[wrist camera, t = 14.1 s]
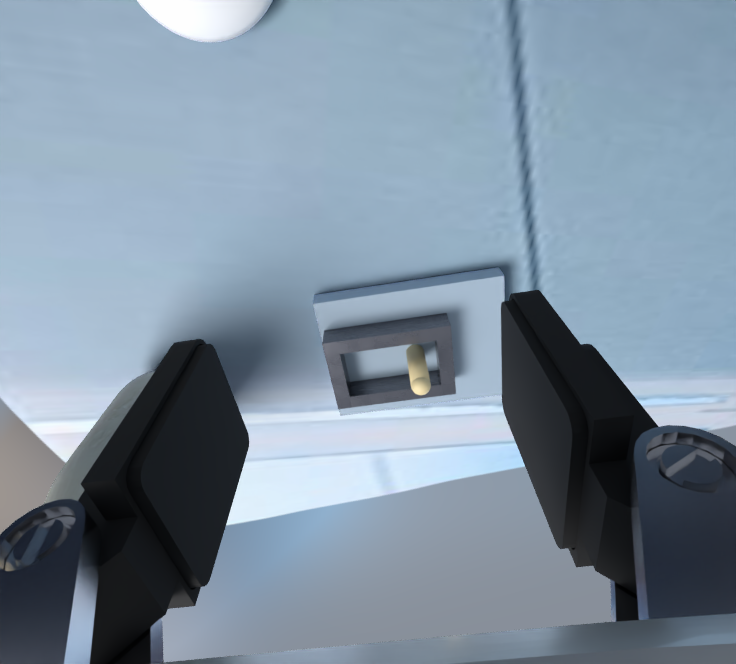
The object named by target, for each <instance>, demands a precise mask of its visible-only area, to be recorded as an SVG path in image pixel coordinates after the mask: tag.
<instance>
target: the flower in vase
mask: <svg viewBox="0 0 736 664" xmlns="http://www.w3.org/2000/svg"><path fill="white" fill-rule="evenodd" d="M137 1H138V2H139V4H140V5H141V6H142V7H143V8H144V9H145V10H146V12H147V13H148V14H149V15H150V16H151V17H153V18H154V19H155V20H156V21H157V22H159V23H160V24H161V25H162V26H164V27H166V28H167V29H169V30H170V31H172V32H174V33H176V34H178V35H180V36H182V37H185V38H188V39H191V40H195V41H200V42H212V43H214V42H223V41H227V40H230V39H234V38H236V37H238V36H240V35H242V34H244V33H245V32H247V31H248V30H250V29H251V28H252V27H253V26H254V25H255V24H256V23H258V22H259V20H260V19H261V18H262V17H263V15H264V14H265V13H266V11H267V10H268V8H269V6H270V5H271V3H272V1H273V0H137Z"/></svg>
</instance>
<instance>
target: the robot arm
mask: <svg viewBox="0 0 736 664" xmlns="http://www.w3.org/2000/svg"><path fill="white" fill-rule="evenodd" d="M501 357H502V403H503V409H504V413H505V416H506V419H507V421H508V424H509V426H510V429H511V431H512V434H513V436H514V439H515V441H516V444H517V446H518V449H519V451H520V454H521V456H522V459H523V461H524V464H525V466H526V469H527V471H528V474H529V476H530V479H531V481H532V484H533V486H534V489H535V491H536V494H537V497H538V499H539V502H540V504H541V506H542V509H543V512H544V514H545V516H546V519H547V522H548V524H549V527H550V529H551V532H552V534H553V537H554V539H555V541H556V544H557V546H558V547H559V548H560V549H565V548H569V551H570V553H571V555H572V558H573V560H574V563H575V565H576V567H583V566H594V568H595V570H596V571H597V572H599V573H600V574H602V575H604V576H606V577H608V578H609V579H610V585H611V586H610V587H611V622H605V623H594V624H583V625H570V626H559V627H548V628H536V629H525V630H514V631H502V632H490V633H480V634H467V635H456V636H444V637H433V638H422V639H411V640H400V641H389V642H378V643H368V644H357V645H345V646H335V647H324V648H313V649H302V650H292V651H281V652H270V653H259V654H250V655H238V656H227V657H217V658H206V659H196V660H186V661H176V662H166V663H164V660H163V629H162V628H163V627H162V619H161V618H162V617H163V616H164V615H165V614H166V612H167V609H169V608H179V607H189V606H195V604H196V601H197V598H198V594H199V591H200V587H202V586H205V585H207V583H208V582H209V580H210V577H211V574H212V570H213V567H214V564H215V560H216V557H217V553H218V550H219V546H220V543H221V540H222V536H223V533H224V530H225V526H226V523H227V519H228V516H229V512H230V509H231V506H232V502H233V499H234V495H235V492H236V489H237V485H238V482H239V478H240V475H241V472H242V468H243V465H244V461H245V458H246V455H247V451H248V447H249V436H248V432H247V429H246V427H245V424H244V422H243V419H242V417H241V414H240V412H239V409H238V406H237V404H236V401H235V399H234V396H233V394H232V391H231V389H230V386H229V384H228V381H227V379H226V376H225V373H224V371H223V368H222V366H221V363H220V361H219V358H218V356H217V353H216V351H215V349H214V347H213V346H212V345H211V344H206V343H205V342H204V341H203V340H201V339H197V340H190V341H183V342H176V343H174V344H173V345H172V346H171V348H170V349H169V351H168V353H167V354H166V356H165V357H164V359H163V360H162V362H161V363H160V365H159V366H158V368H157V369H156V371H155V372H154V374H153V375H152V377H151V378H150V380H149V381H148V383H147V384H146V386H145V387H144V389H143V390H142V392H141V393H140V395H139V396H138V398H137V399H136V401H135V402H134V404H133V405H132V407H131V408H130V410H129V411H128V413H127V414H126V416H125V417H124V419H123V420H122V422H121V423H120V425H119V426H118V428H117V429H116V431H115V432H114V434H113V435H112V437H111V438H110V440H109V441H108V443H107V444H106V446H105V447H104V449H103V450H102V452H101V453H100V455H99V456H98V458H97V459H96V461H95V462H94V464H93V465H92V467H91V469H90V470H89V472H88V473H87V475H86V476H85V478H84V479H83V481H82V482H81V485H82V487H83V488H84V492H83V493H82V495H81V496H80V498H79V500H78V501H76V500H73V499H60V500H56V501H52V502H49V503H45V504H43V505H41V506H39V507H37V508H35V509H33V510H31V511H29V512H28V513H26V514H25V515H23V516H22V517H20V518H19V519H17V520H16V521H14V522H13V523H12V524H11V525H10V526H9V527H8V528H7V529H5V530H4V531H3V532H2V533H1V534H0V664H736V446H735V445H733V444H731V443H730V442H728V441H726V440H725V439H723V438H721V437H719V436H717V435H714V434H712V433H709V432H707V431H704V430H701V429H696V428H692V427H687V426H672V425H667V426H661V427H658V426H657V424H656V423H655V422H654V421H653V419H652V418H651V417H650V416H649V414H648V413H647V412H646V411H645V409H644V408H643V407H642V406H641V404H640V403H639V402H638V401H637V399H636V398H635V397H634V396H633V394H632V393H631V392H630V391H629V389H628V388H627V387H626V386H625V385H624V383H623V382H622V381H621V380H620V378H619V377H618V376H617V375H616V373H615V372H614V371H613V370H612V368H611V367H610V366H609V365H608V363H607V362H606V361H605V360H604V358H603V357H602V356H601V355H600V353H599V352H598V351H597V350H596V348H594V347H593V346H592V345H590V344H582V345H581V344H580V343H579V342H578V340H577V339H576V338H575V337H574V335H573V334H572V333H571V331H570V330H569V329H568V327H567V326H566V325H565V323H564V322H563V321H562V319H561V318H560V317H559V315H558V314H557V313H556V312H555V310H554V309H553V308H552V306H551V305H550V304H549V302H548V301H547V300H546V298H545V297H544V296H543V294H542V293H541V292H540V291H539V290H534V291H527V292H520V293H513V294H511V295H510V298H509V301H504V302H502V303H501Z"/></svg>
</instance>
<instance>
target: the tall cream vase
mask: <svg viewBox="0 0 736 664" xmlns="http://www.w3.org/2000/svg"><path fill="white" fill-rule="evenodd" d="M154 372H155V371H152V372H149V373H146V374H143V375H141V376H139V377H137V378H135V379H134V380H132V381H131V382H130V383H128V384H127V385H126V386H125V387H124V388H123V389H122V390H121V391H120V392H119V393H118V395H117V396H116V397H115V399H114V400H113V401H112V403H111V404H110V405H109V406H108V408H107V409H106V410H105V412H104V413H103V415H102V416H101V417H100V419H99V420H98V421H97V422H96V424H95V425H94V426H93V428H92V429H91V430H90V432H89V433H88V434H87V436H86V437H85V438H84V440H83V441H82V442H81V444H80V445H79V446H78V448H77V449H76V450H75V452H74V453H73V454H72V456H71V457H70V458H69V460H68V461H67V463H66V464H65V465H64V467H63V468H62V470H61V471H60V473H59V474H58V476H57V477H56V479H55V480H54V482H53V484H52V486H51V488H50V490H49V493H48V495H47V498H46V500H45V502H44V504H45V503H49V502H52V501H56V500H60V499H73V500H76V501H78V500H79V498H80V496H81V495H82V493H83V492H84V488H83V487H82V485H81V482H82V481H83V479H84V478H85V476H86V475H87V473H88V472H89V470H90V469H91V467H92V465H93V464H94V462H95V461H96V459H97V458H98V456H99V455H100V453H101V452H102V450H103V449H104V447H105V446H106V444H107V443H108V441H109V440H110V438H111V437H112V435H113V434H114V432H115V431H116V429H117V428H118V426H119V425H120V423H121V422H122V420H123V419H124V417H125V416H126V414H127V413H128V411H129V410H130V408H131V407H132V405H133V404H134V402H135V401H136V399H137V398H138V396H139V395H140V393H141V392H142V390H143V389H144V387H145V386H146V384H147V383H148V381H149V380H150V378H151V377H152V375H153V374H154Z"/></svg>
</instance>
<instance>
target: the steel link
mask: <svg viewBox="0 0 736 664" xmlns="http://www.w3.org/2000/svg"><path fill="white" fill-rule="evenodd" d="M431 341H435V349H436V359H437V369H438V370H434V371H428V373H429V378H430V383H431V388H430V390H429V392H428V393H427V394H425V395H417V394H415V393H414V392H413V390H412V388H411V383H410V376H409V374H405V375H397V376H390V377H382V378H375V379H367V380H360V381H353V382H350V379H349V374H348V370H347V365H346V361H345V356H344V354H345V353H352V352H359V351H367V350H374V349H381V348H388V347H395V346H402V345H410V344H417V343H424V342H431ZM322 345H323V349H324V353H325V357H326V361H327V365H328V369H329V373H330V377H331V381H332V385H333V389H334V393H335V397H336V401H337V405H338V409H345V408H352V407H360V406H368V405H375V404H383V403H391V402H398V401H406V400H414V399H421V398H429V397H437V396H444V395H452V394H456V385H455V372H454V360H453V347H452V334H451V325H450V322H449V319H448V316H447V313H441V314H434V315H427V316H421V317H414V318H407V319H400V320H393V321H386V322H379V323H372V324H365V325H358V326H351V327H344V328H337V329H330V330H324V335H323V342H322Z"/></svg>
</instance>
